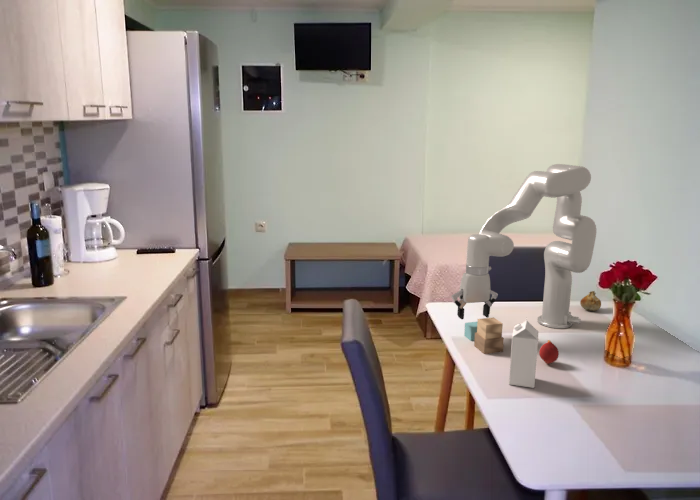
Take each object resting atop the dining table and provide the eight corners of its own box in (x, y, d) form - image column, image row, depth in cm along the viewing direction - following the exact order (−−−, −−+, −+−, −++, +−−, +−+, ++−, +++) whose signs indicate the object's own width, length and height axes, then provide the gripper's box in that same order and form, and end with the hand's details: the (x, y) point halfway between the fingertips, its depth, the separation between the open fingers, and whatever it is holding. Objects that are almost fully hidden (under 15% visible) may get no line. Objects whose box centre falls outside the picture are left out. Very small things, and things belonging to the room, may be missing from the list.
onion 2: (575, 307, 232) (577, 289, 230) (594, 307, 232) (596, 288, 231) (585, 313, 224) (587, 294, 222) (604, 313, 225) (606, 294, 223)
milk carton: (534, 378, 168) (539, 318, 164) (534, 388, 162) (539, 326, 157) (510, 374, 171) (514, 315, 166) (508, 385, 164) (512, 323, 160)
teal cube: (476, 334, 203) (477, 321, 202) (483, 339, 198) (484, 326, 197) (464, 335, 202) (464, 322, 201) (470, 341, 197) (471, 327, 196)
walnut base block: (492, 344, 194) (493, 330, 193) (502, 352, 188) (503, 338, 186) (474, 346, 192) (474, 332, 191) (483, 354, 186) (484, 340, 185)
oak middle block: (492, 331, 193) (493, 317, 191) (501, 337, 187) (502, 323, 186) (476, 332, 191) (477, 319, 190) (485, 339, 185) (486, 325, 184)
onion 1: (558, 362, 180) (560, 338, 178) (556, 369, 175) (559, 345, 173) (539, 358, 182) (541, 335, 180) (537, 365, 177) (539, 341, 175)
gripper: (493, 266, 200) (490, 312, 204) (449, 268, 196) (446, 315, 199) (504, 271, 193) (500, 319, 197) (458, 274, 189) (455, 322, 192)
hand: (473, 317), depth 198 cm, fingers open, 9 cm apart
